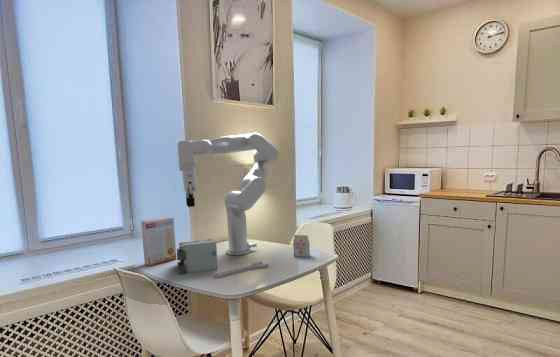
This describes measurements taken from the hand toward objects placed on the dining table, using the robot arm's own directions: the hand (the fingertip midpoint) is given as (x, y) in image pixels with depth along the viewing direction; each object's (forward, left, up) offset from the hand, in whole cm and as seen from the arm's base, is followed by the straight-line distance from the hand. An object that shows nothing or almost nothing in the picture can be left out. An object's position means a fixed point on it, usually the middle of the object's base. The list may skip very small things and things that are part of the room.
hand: (190, 205), depth 161 cm
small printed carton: (-50, +13, -27) cm, 58 cm away
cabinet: (-1, +8, -27) cm, 28 cm away
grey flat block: (-2, +14, -27) cm, 31 cm away
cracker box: (+15, -8, -27) cm, 32 cm away
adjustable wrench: (-18, +23, -28) cm, 40 cm away
